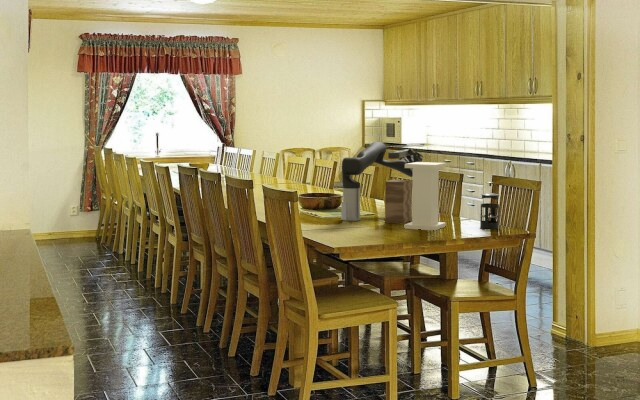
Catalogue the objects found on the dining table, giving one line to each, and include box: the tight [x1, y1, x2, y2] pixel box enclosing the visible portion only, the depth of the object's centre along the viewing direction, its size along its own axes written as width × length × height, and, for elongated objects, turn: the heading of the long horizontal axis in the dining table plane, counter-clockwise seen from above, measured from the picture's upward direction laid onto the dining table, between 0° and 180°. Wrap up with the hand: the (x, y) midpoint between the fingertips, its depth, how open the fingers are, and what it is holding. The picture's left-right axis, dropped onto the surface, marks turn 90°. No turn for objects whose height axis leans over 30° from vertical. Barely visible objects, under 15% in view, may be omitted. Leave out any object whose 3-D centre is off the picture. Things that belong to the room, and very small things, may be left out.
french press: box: [479, 181, 500, 230], centre depth 412 cm, size 12×9×23 cm
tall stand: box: [403, 161, 448, 232], centre depth 415 cm, size 16×16×32 cm
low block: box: [384, 179, 413, 225], centre depth 437 cm, size 12×10×22 cm
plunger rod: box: [387, 148, 414, 160], centre depth 437 cm, size 26×6×3 cm, turn 153°
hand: (405, 149), depth 442 cm, fingers closed on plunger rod, 3 cm apart
